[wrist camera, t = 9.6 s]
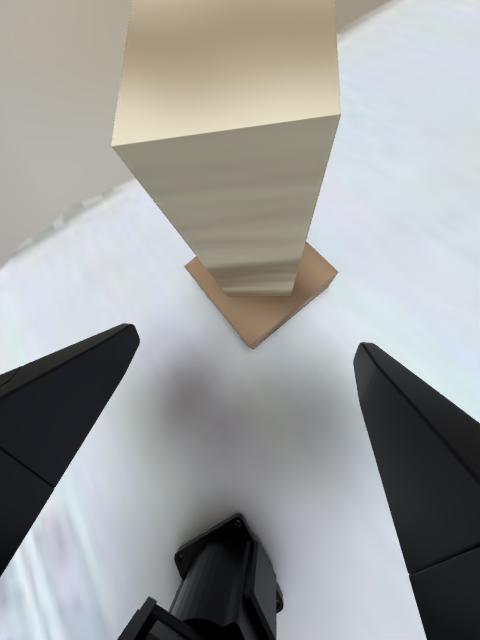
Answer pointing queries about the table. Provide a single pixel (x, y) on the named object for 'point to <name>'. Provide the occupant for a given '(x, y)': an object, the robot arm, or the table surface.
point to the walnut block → (267, 297)
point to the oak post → (232, 127)
